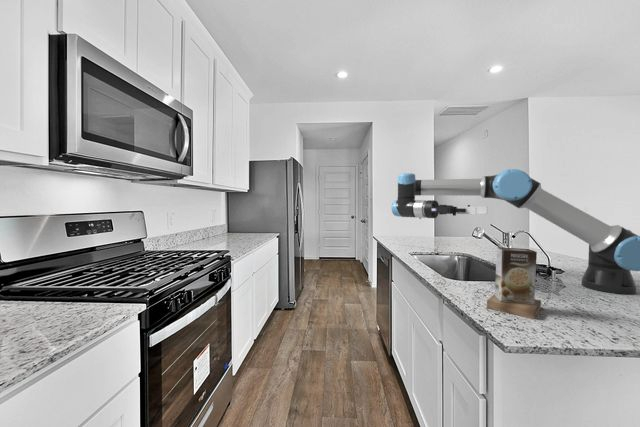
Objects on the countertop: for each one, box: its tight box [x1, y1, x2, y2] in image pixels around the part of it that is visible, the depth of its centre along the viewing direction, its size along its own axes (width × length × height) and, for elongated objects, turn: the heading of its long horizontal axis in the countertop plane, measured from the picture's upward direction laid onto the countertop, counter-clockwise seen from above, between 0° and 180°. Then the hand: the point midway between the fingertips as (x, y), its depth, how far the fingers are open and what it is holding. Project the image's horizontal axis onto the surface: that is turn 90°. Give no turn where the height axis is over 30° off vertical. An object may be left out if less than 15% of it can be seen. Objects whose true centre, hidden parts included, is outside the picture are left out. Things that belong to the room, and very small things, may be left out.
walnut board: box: [486, 293, 542, 320], centre depth 91 cm, size 12×12×2 cm
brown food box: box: [494, 246, 538, 305], centre depth 91 cm, size 9×6×16 cm
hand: (481, 210), depth 110 cm, fingers open, 13 cm apart
